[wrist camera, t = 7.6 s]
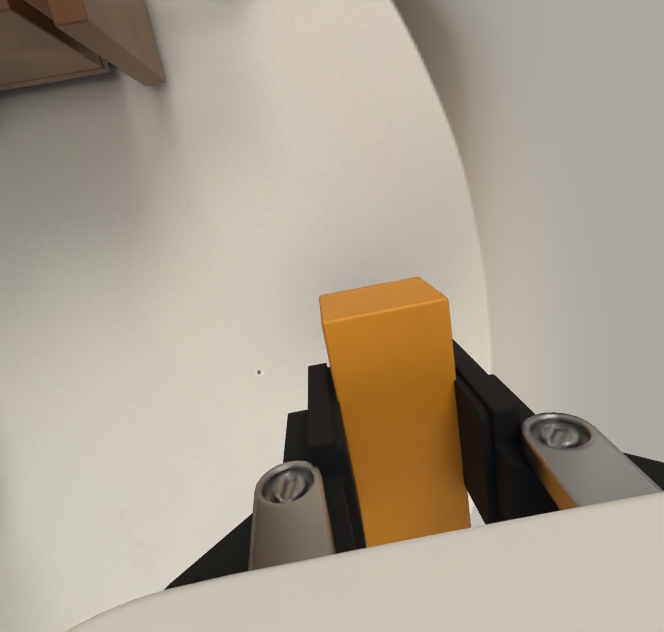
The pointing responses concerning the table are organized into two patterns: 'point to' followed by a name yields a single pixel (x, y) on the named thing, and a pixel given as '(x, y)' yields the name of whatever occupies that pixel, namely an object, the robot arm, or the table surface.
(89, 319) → the table surface
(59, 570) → the table surface
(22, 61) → the drawer
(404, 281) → the block
